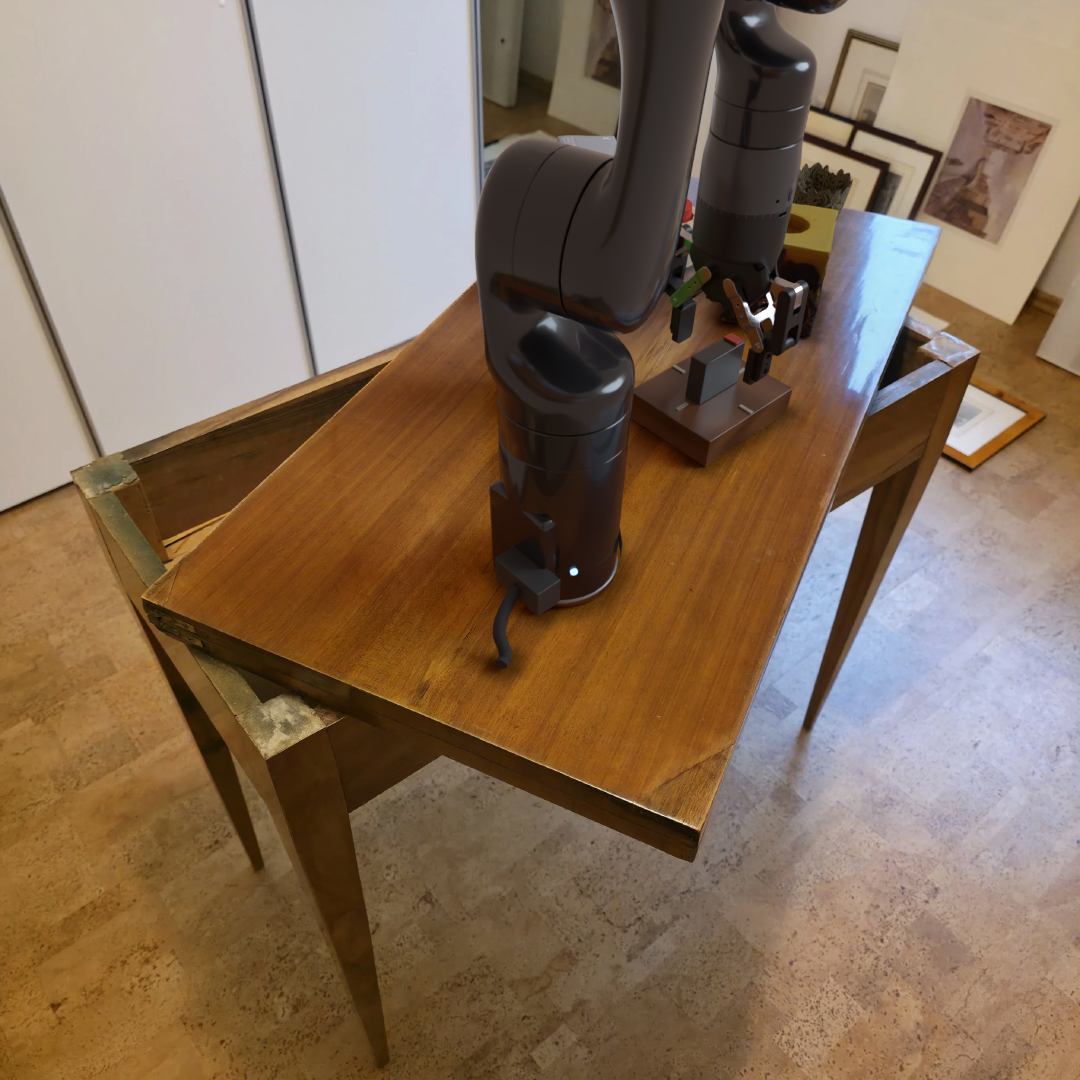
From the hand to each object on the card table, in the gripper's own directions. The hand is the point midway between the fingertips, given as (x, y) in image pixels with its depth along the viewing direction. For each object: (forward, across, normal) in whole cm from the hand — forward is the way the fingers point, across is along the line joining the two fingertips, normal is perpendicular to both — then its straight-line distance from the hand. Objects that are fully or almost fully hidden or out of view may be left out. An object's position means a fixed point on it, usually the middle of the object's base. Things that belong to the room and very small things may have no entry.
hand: (716, 359), depth 81 cm
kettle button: (+3, -25, +22) cm, 33 cm away
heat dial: (+3, 0, 0) cm, 3 cm away
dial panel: (+6, 0, 0) cm, 6 cm away
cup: (+7, -14, +36) cm, 39 cm away
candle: (+7, -8, +20) cm, 22 cm away
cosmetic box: (+7, -25, +7) cm, 26 cm away
